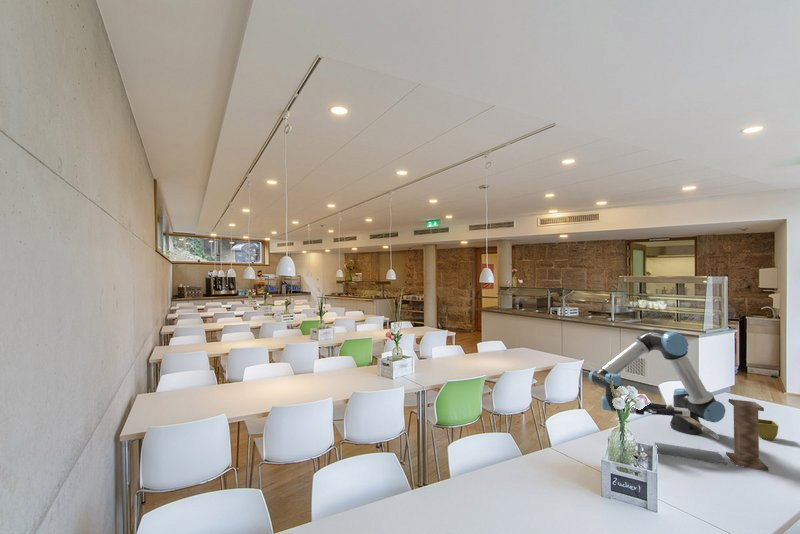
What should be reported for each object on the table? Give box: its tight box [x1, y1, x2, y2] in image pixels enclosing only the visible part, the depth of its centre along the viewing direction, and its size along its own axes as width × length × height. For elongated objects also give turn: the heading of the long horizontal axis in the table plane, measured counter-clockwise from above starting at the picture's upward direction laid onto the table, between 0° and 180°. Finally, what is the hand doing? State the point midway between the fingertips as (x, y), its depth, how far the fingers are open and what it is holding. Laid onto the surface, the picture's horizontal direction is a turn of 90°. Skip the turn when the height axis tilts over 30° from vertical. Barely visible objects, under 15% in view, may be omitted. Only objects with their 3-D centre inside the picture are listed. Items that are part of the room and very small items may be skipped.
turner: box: [666, 403, 720, 440], centre depth 194 cm, size 23×7×2 cm, turn 66°
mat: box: [654, 441, 728, 465], centre depth 194 cm, size 27×13×1 cm, turn 66°
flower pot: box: [758, 418, 779, 441], centre depth 214 cm, size 9×9×9 cm
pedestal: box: [725, 398, 769, 472], centre depth 185 cm, size 12×12×28 cm
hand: (688, 412), depth 194 cm, fingers closed on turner, 2 cm apart
